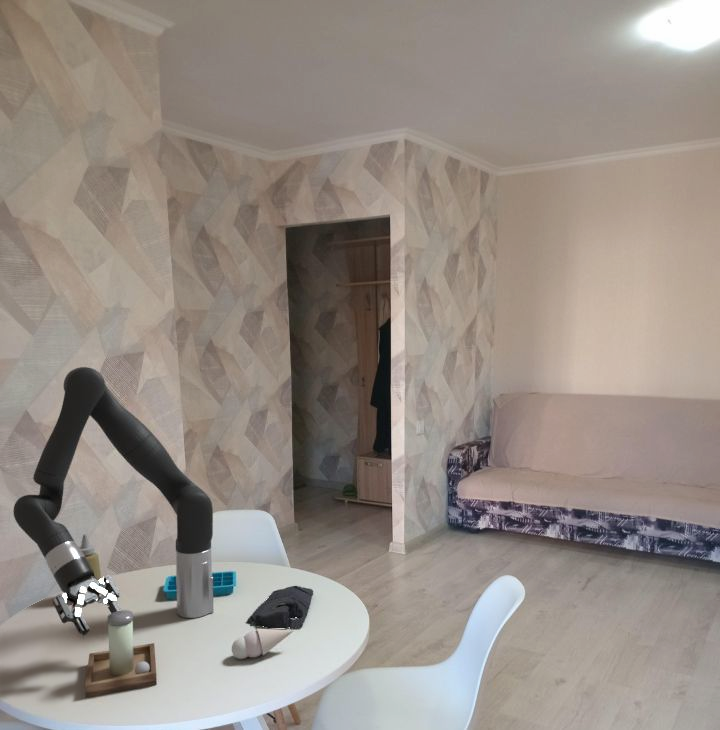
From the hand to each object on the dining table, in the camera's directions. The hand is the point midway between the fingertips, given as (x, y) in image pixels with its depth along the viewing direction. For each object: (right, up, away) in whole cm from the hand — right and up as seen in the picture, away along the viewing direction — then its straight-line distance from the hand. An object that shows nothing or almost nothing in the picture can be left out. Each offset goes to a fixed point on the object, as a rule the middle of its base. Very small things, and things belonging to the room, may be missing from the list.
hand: (103, 625), depth 142 cm
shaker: (+5, -9, -2) cm, 10 cm away
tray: (+5, -10, -2) cm, 11 cm away
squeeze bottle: (-20, -8, +38) cm, 44 cm away
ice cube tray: (+11, -8, +43) cm, 45 cm away
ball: (+10, -7, -5) cm, 14 cm away
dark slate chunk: (+37, -9, +29) cm, 48 cm away
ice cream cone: (+35, -9, +6) cm, 37 cm away
